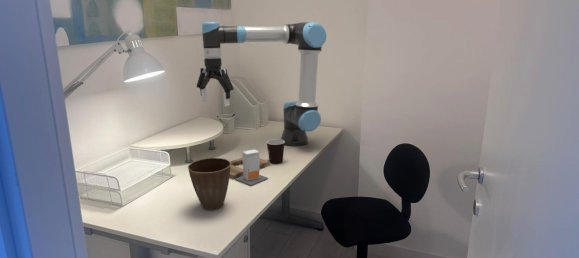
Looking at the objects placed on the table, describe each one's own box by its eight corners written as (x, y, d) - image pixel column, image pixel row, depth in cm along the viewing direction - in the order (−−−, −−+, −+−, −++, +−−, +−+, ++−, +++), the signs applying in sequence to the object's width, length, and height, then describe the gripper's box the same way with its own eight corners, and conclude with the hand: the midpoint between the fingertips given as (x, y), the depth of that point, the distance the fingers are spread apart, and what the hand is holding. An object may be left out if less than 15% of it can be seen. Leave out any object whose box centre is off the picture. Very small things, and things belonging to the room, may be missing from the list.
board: (249, 158, 189) (249, 155, 188) (269, 165, 180) (269, 161, 179) (213, 171, 173) (213, 167, 173) (233, 179, 164) (233, 175, 164)
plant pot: (195, 218, 131) (191, 175, 127) (188, 201, 144) (184, 161, 140) (237, 210, 137) (235, 168, 133) (227, 194, 150) (224, 155, 146)
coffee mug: (282, 165, 180) (282, 145, 177) (265, 164, 182) (264, 144, 179) (287, 157, 191) (287, 137, 188) (271, 156, 192) (270, 137, 190)
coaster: (252, 173, 171) (252, 172, 170) (268, 179, 164) (268, 177, 164) (235, 180, 163) (234, 178, 163) (250, 186, 157) (250, 184, 157)
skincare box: (246, 181, 161) (245, 154, 157) (243, 177, 164) (242, 151, 161) (260, 178, 163) (259, 151, 160) (256, 175, 167) (255, 149, 164)
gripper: (186, 57, 174) (190, 103, 180) (228, 59, 161) (231, 108, 167) (198, 56, 180) (201, 100, 186) (239, 57, 167) (242, 105, 173)
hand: (215, 104), depth 176 cm, fingers open, 13 cm apart
